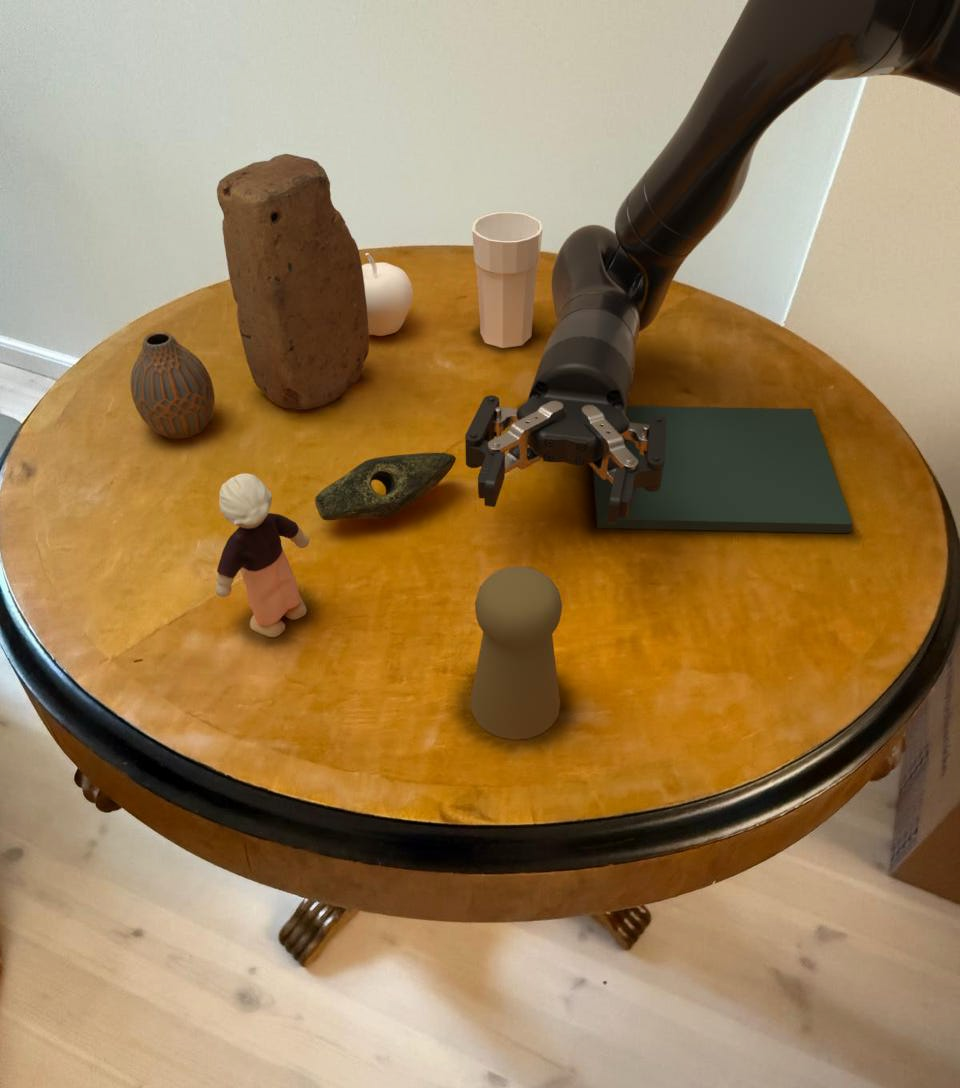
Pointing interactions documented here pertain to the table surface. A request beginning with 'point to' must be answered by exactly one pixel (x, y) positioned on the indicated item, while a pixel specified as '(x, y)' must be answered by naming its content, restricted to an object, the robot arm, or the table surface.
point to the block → (294, 281)
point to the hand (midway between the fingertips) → (550, 505)
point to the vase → (171, 388)
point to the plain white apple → (386, 297)
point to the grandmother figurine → (259, 554)
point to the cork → (517, 654)
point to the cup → (506, 275)
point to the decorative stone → (398, 475)
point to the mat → (735, 474)
